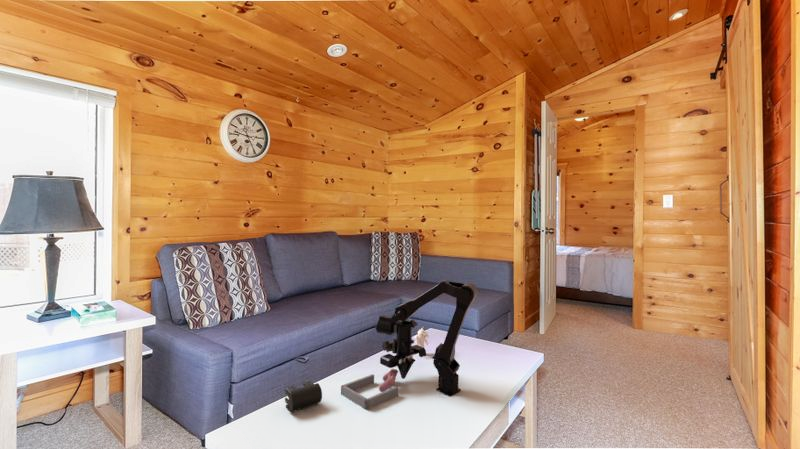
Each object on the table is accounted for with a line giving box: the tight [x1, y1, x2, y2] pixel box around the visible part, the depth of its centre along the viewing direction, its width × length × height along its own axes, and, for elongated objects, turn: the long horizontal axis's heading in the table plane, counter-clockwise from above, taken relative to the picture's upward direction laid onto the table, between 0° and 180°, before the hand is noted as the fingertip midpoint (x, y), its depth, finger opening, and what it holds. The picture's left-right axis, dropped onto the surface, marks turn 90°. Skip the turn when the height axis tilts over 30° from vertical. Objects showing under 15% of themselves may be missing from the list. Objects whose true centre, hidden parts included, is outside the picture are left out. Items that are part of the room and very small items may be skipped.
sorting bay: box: [340, 374, 400, 411], centre depth 132 cm, size 14×14×3 cm
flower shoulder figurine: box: [413, 327, 429, 357], centre depth 170 cm, size 9×4×12 cm, turn 141°
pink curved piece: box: [378, 368, 399, 392], centre depth 138 cm, size 10×5×7 cm, turn 173°
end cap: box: [284, 381, 323, 413], centre depth 123 cm, size 10×7×7 cm
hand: (403, 378), depth 143 cm, fingers closed
